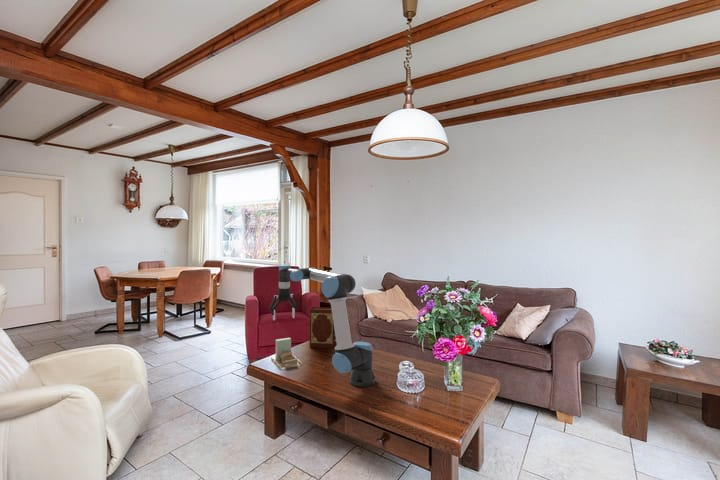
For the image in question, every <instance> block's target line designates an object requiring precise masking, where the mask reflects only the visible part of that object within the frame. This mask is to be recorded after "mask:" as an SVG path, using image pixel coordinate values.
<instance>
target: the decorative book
mask: <svg viewBox="0 0 720 480" xmlns="http://www.w3.org/2000/svg"><path fill="white" fill-rule="evenodd" d="M336 346H337V342H336V336H335V329H334V322H333V315H332V309H331V306H330V307H327V306H326V307H325V306H324V307H323V306H320V307H319V306H312V307H311V308H310V309H309V348H321V349H322V348H323V349H335V347H336Z"/></svg>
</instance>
